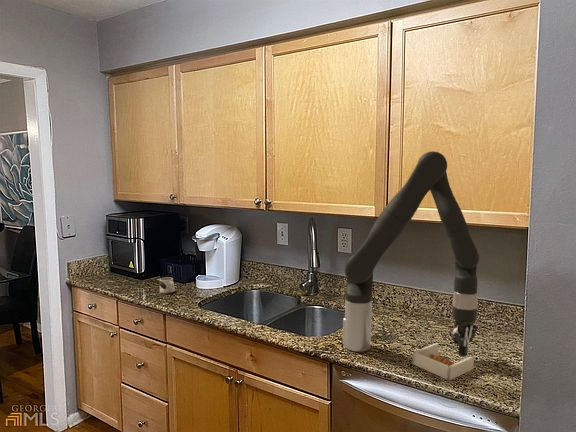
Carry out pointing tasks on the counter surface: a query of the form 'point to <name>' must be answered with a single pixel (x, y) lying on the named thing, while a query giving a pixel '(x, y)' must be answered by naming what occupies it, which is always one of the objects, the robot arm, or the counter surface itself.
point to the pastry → (441, 359)
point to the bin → (439, 368)
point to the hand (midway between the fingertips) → (462, 355)
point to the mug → (166, 285)
